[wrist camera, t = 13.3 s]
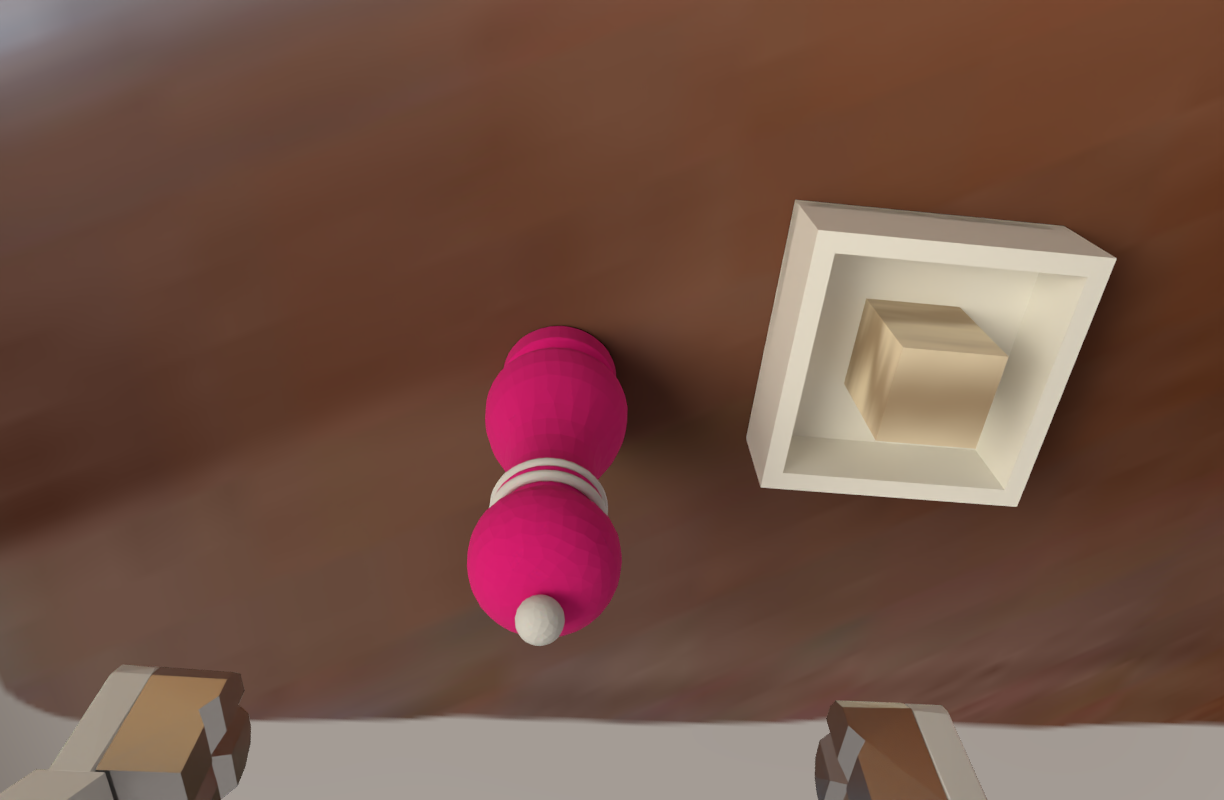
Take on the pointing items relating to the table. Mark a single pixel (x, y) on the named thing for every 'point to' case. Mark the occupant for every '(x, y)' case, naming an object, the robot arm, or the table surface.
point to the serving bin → (929, 274)
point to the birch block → (923, 373)
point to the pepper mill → (550, 487)
